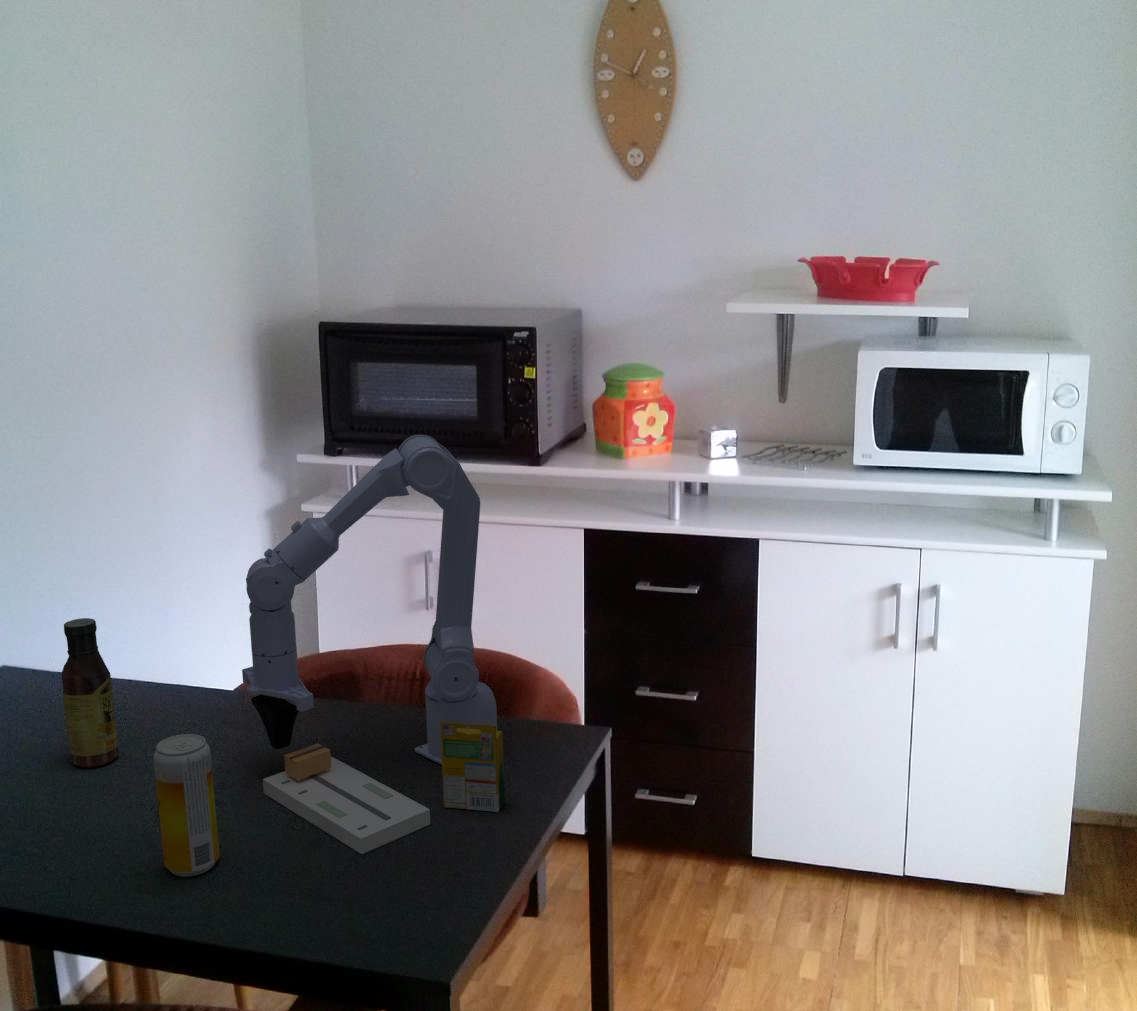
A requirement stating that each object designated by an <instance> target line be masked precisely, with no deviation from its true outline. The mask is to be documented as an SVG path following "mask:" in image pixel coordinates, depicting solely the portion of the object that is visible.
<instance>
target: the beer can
mask: <svg viewBox="0 0 1137 1011" xmlns="http://www.w3.org/2000/svg"><path fill="white" fill-rule="evenodd" d="M211 753H212V752H211V747H210V746H209V744H208V743H207V741H206V738H205V737H204V736H203V735H199V734H197V733H196V734H194V733H183V734H176V735H172V736H169V737H166V738H164V739H163V740H161V741H159V742H158V743H157V744H156V747H155V752H154V755H153V765H154V766H153V768H154V778H155V785H156V786H155V787H156V788H155V789H156V795H157V798H156V799H157V805H158V814H159V815H158V817H159V825H160V827H159V828H160V835H161V836H160V837H161V847H162V857H163V864H164V865H163V866H164V867H165V868H166V869H167V870H169V871H170V873H172V874H173V875H175V876H176V877H177V876H178V877H193V876H198V875H202V874H204V873H207V872H208V871H210V870H211V869H212V868H213V867H214V866H215V864H216V862H217V861H218V859H219V858H220V845H219V833H218V824H217V823H218V821H217V812H216V811H217V810H216V800H215V799H216V798H215V788H214V787H215V786H214V776H213V767H212V766H213V765H212V756H211V755H212V754H211Z"/></svg>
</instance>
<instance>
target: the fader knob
mask: <svg viewBox="0 0 1137 1011" xmlns="http://www.w3.org/2000/svg"><path fill="white" fill-rule="evenodd" d="M331 754H332V753H331V750H330V748H328V747H326V745H322V744H320V743H314V744H312V745H309V746H306V747H303V748H301V749H298V750H295V751H291V752H289V753H286V754H284V756H283V757H284V769H285V770H284V771H286V774H288V775H290V776H292V777H293V778H295V779H297V780H300V779H303V778H306V777H308V776H311V775H314V774H316V773H319V772H322V771H324V770H327V769H330V768H331V757H332V756H331Z"/></svg>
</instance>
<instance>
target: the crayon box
mask: <svg viewBox="0 0 1137 1011" xmlns="http://www.w3.org/2000/svg"><path fill="white" fill-rule="evenodd" d="M465 727H470V728H472V729H463V728H465ZM477 729H479V730H477ZM503 737H504V735H503V731H502V730H497V731H496V725H484V724H468V723H455V722H441V750H442V765H441V772H442V774H441V775H442V797H443V798H442V799H443V802H442V803H443V809H460V810H470V811H471V810H472V811H480V812H481V811H484V812H493V813H500V811H501V809H502V807H503V806H504V804H505V803H506V802H505V800H506V798H505V796H506V795H505V793H506V792H505V770H504V767H505V766H504V764H505V763H504V744H503V743H504V741H503V740H504V738H503Z"/></svg>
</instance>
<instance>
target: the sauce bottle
mask: <svg viewBox="0 0 1137 1011" xmlns="http://www.w3.org/2000/svg"><path fill="white" fill-rule="evenodd" d="M97 628H98V627H97V622H96V620H95V618H89V617H88V618H87V617H86V618H85V617H82V618H76V619H72V620H69V621H66V622H65V623H64V624H63V632H64V636H65V638H66V642H67V643H66V644H67V650H66V651H67V654H68V658H67V660H66V662H65V664H63V668H62V670H61V681H62V688H63V692H62V696H63V704H64V712H65V721H66V730H67V739H68V746H69V747H68V748H69V754H70V756H71V762H72V763H73V765H74V766H77V767H80V768H94V767H101V766H104V765H106V764H109V763H111V762H112V761H114V760H115V759H116V758H117V757H118V753H119V748H118V747H119V746H118V745H119V741H118V740H119V738H118V729H117V720H116V710H115V703H114V694H113V692H114V691H113V683H112V677H111V676H112V675H111V672H110V671H109V669H108V667H107V665H106V663H105V661H104V658H103V657H102V655H101V653H100V651H99V646H98V641H97V640H98V639H97V634H96V633H97Z"/></svg>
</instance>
